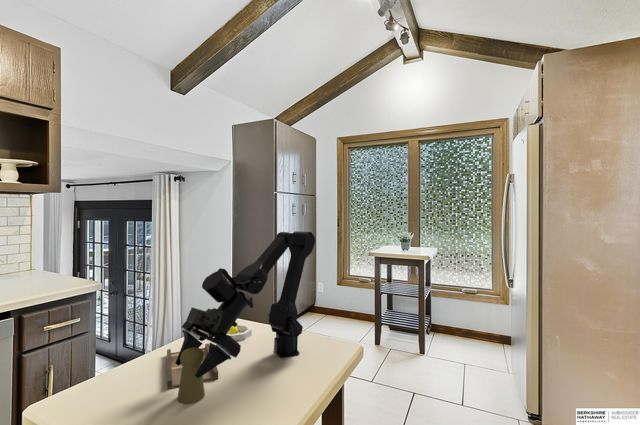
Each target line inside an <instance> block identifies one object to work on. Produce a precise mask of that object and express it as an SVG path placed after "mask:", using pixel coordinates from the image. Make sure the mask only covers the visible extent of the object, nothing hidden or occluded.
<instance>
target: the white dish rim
mask: <svg viewBox="0 0 640 425" xmlns="http://www.w3.org/2000/svg"><path fill="white" fill-rule="evenodd" d="M236 327H237V328H238V330H240V331H239V333H237V334H227V335H229V336H231V337H232V338H233V339H234V340H235V341H236V342H238V341H239V342H240V341H244V340H247V338H249V337H250V336H252V335H253V334H252V332H253V331H252V330H253V329H252V327H251V326H250V325H247V324H243V323H237V326H236Z"/></svg>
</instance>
